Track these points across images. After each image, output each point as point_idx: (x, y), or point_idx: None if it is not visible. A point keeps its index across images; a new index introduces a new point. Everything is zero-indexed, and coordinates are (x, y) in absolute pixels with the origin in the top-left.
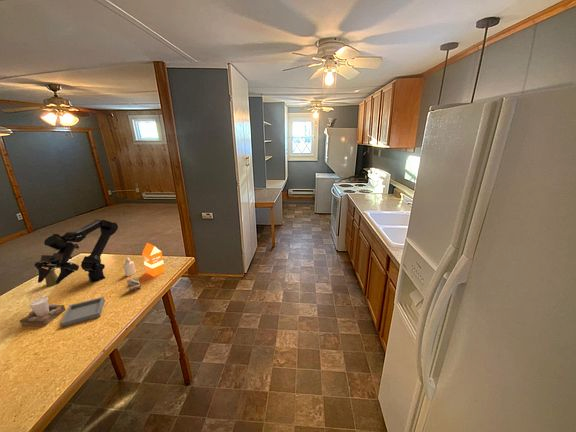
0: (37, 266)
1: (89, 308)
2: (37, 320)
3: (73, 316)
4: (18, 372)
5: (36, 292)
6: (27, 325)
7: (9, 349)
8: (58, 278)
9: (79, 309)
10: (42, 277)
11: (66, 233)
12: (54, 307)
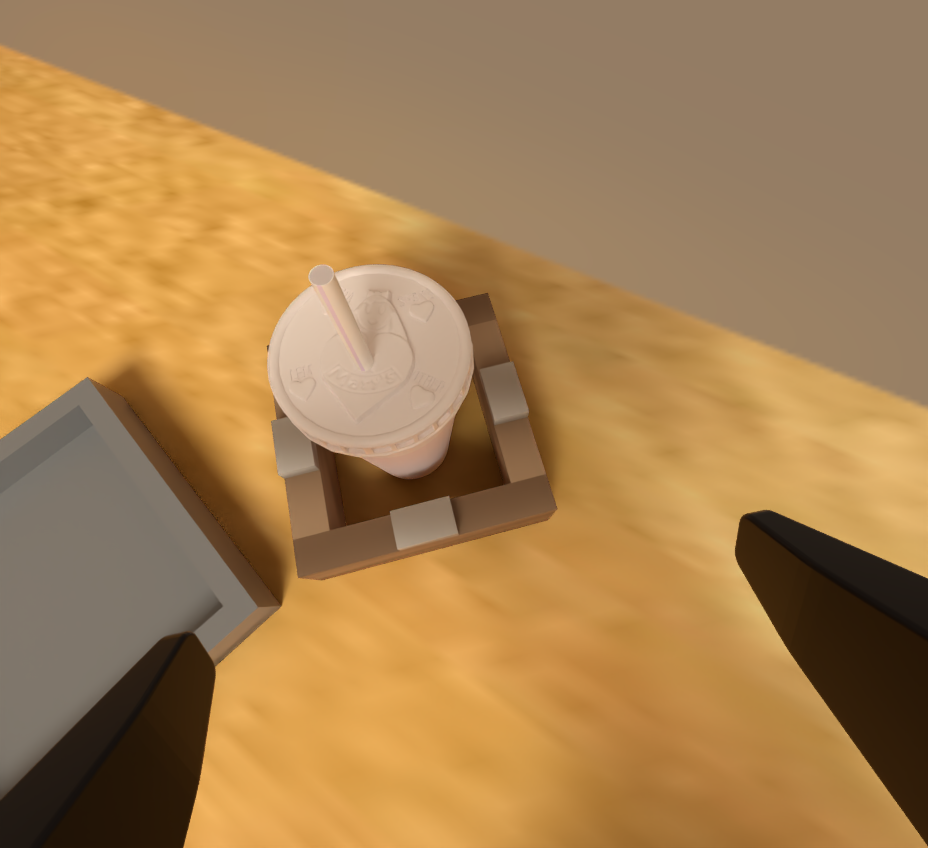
0: None
1: (34, 658)
2: None
3: (110, 509)
4: (63, 116)
5: (326, 269)
6: None
7: (297, 181)
8: (51, 772)
9: (138, 612)
10: (873, 685)
11: None
12: (376, 519)
